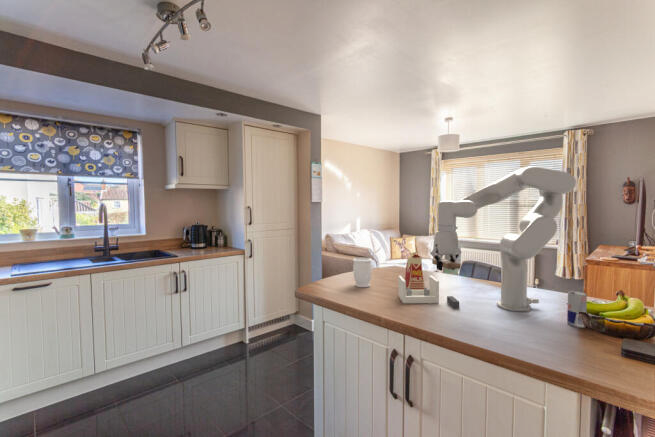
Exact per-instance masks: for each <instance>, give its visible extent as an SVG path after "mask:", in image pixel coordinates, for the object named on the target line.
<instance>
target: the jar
mask: <svg viewBox="0 0 655 437" xmlns="http://www.w3.org/2000/svg"><path fill="white" fill-rule="evenodd" d="M352 261H353V264H352V265H353V266H352V272H353V278H354V281H355V284H354V285H355V287H358V288H369V287H371V284H370V283H371V280H372V274H373V264H372V261H373V260H372V258H370V257H364V256H363V257H355V258H353V259H352Z"/></svg>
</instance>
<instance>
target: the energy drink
mask: <svg viewBox="0 0 655 437" xmlns="http://www.w3.org/2000/svg"><path fill="white" fill-rule="evenodd" d="M587 301H588V297H587V293H585V292H583V291H578V290H569V291H568V292H567V310H566V311H567V314H566V316H567V319H566V320H567V321H566V323H567V324H568V325H569V326H570V327H572V328H579V329H580V328H581V329H584V328H586V327H585V326H584V325H583V323H582V322H581V320H580V318H579V311H582V312H586V313H587V305H588V304H587V303H588V302H587Z"/></svg>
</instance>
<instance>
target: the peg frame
mask: <svg viewBox="0 0 655 437" xmlns="http://www.w3.org/2000/svg"><path fill="white" fill-rule="evenodd" d="M397 278H398V279H397V280H398V297H399V299H400V300H401V302H402V304H439V303H440V281H439V280H438V279H437V278H436V277H434V276H433V275H429V276H428V287H425V288H424V290H410V288H406V281H405V278H404V277H402V275H398V277H397Z"/></svg>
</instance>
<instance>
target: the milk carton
mask: <svg viewBox="0 0 655 437" xmlns="http://www.w3.org/2000/svg"><path fill="white" fill-rule="evenodd" d="M422 261H423V260H422V256H420V255H418V254H417V251H415V252H410V255H409V256H408V257H407V260H406V266H405V272H404V273H405V275H404V280H405V281H406V289H407V288H410V290H424V288H426V284H425V280H424V271H423V262H422Z"/></svg>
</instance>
